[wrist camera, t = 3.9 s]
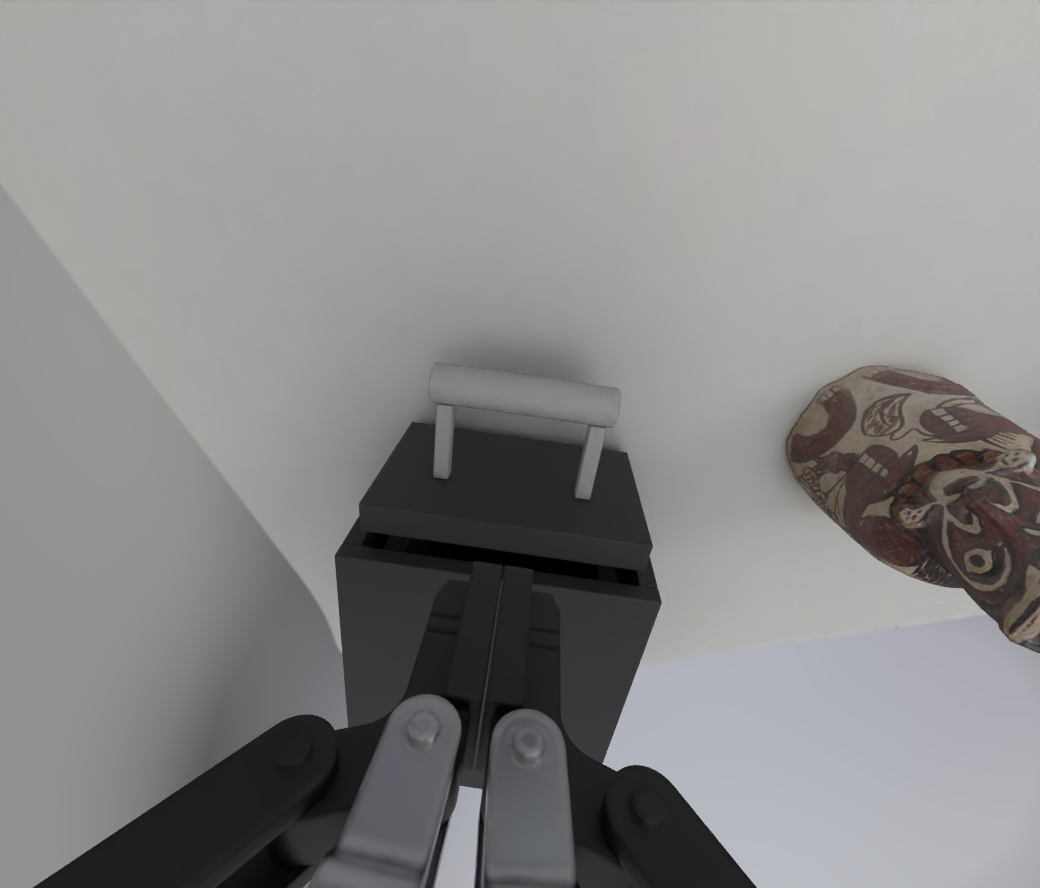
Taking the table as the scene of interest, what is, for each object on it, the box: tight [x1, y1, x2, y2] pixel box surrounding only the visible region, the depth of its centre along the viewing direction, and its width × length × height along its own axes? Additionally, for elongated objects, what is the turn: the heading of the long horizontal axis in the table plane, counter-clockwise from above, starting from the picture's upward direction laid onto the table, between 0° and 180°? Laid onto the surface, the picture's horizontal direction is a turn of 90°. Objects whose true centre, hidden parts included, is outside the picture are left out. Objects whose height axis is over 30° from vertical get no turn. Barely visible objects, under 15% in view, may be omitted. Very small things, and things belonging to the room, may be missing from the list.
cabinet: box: [335, 516, 661, 789], centre depth 23 cm, size 13×11×8 cm
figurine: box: [787, 366, 1040, 653], centre depth 16 cm, size 7×7×12 cm
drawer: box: [359, 362, 653, 583], centre depth 21 cm, size 17×10×7 cm, turn 173°
